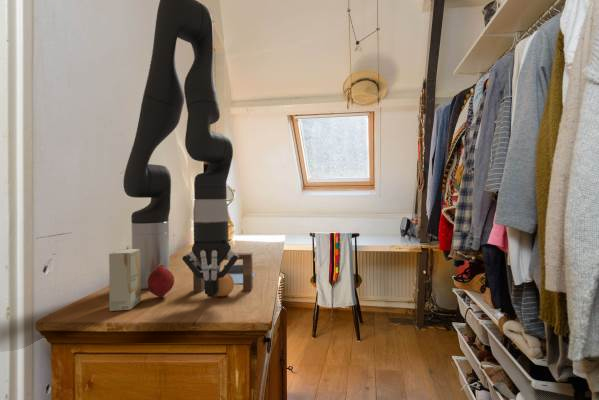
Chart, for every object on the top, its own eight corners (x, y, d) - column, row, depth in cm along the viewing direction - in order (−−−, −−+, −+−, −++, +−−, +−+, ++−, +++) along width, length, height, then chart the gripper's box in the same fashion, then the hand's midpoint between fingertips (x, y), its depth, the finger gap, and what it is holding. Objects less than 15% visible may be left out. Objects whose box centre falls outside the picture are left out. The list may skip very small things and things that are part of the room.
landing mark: (250, 283, 82) (249, 283, 82) (206, 284, 82) (206, 283, 82) (255, 273, 94) (255, 272, 94) (217, 273, 94) (217, 273, 94)
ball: (207, 272, 71) (215, 278, 76) (206, 295, 69) (215, 300, 74) (229, 268, 71) (236, 274, 76) (230, 291, 69) (237, 296, 73)
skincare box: (130, 310, 64) (130, 252, 64) (108, 312, 63) (107, 253, 63) (142, 300, 70) (141, 248, 70) (121, 301, 69) (120, 248, 69)
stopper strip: (223, 273, 95) (223, 265, 95) (224, 272, 96) (224, 264, 96) (249, 273, 95) (249, 265, 95) (249, 272, 96) (249, 264, 96)
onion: (163, 302, 69) (163, 267, 69) (141, 300, 70) (141, 266, 70) (179, 294, 74) (178, 261, 74) (158, 292, 76) (157, 261, 75)
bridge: (251, 290, 76) (250, 254, 76) (193, 292, 76) (192, 255, 76) (252, 287, 79) (252, 252, 79) (197, 288, 79) (196, 253, 79)
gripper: (174, 221, 64) (175, 301, 65) (236, 220, 64) (237, 301, 64) (188, 218, 72) (189, 291, 72) (243, 218, 72) (244, 290, 72)
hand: (212, 295), depth 68 cm, fingers closed
